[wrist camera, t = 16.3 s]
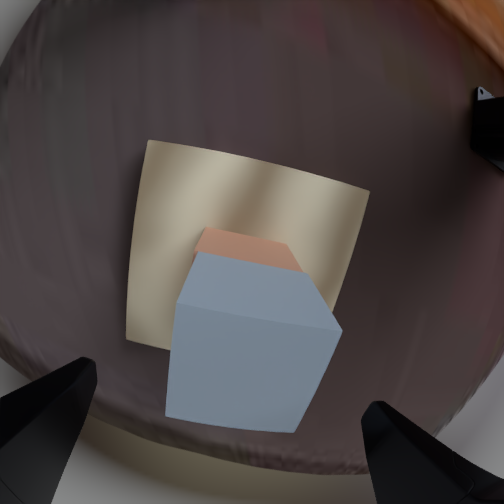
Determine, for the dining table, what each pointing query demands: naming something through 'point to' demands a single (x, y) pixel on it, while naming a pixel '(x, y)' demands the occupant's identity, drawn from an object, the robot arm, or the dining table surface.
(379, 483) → the robot arm
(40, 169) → the dining table surface
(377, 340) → the dining table surface
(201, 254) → the slate block
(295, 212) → the birch board
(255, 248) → the terracotta block
